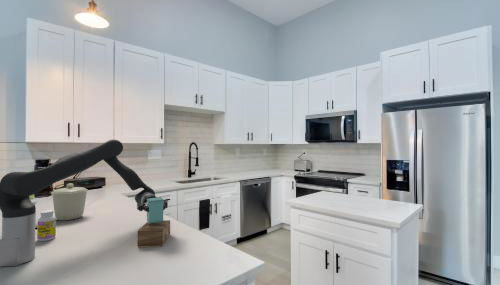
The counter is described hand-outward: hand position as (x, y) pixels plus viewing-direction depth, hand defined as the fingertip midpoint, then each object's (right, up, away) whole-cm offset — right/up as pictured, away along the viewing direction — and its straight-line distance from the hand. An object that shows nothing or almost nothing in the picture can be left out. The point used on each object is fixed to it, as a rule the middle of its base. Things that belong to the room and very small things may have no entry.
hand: (156, 208), depth 110 cm
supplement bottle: (-53, -15, +4) cm, 55 cm away
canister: (-67, -16, +38) cm, 78 cm away
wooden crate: (-1, -15, +2) cm, 15 cm away
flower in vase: (-74, -16, +19) cm, 78 cm away
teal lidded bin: (-1, -6, +2) cm, 6 cm away
